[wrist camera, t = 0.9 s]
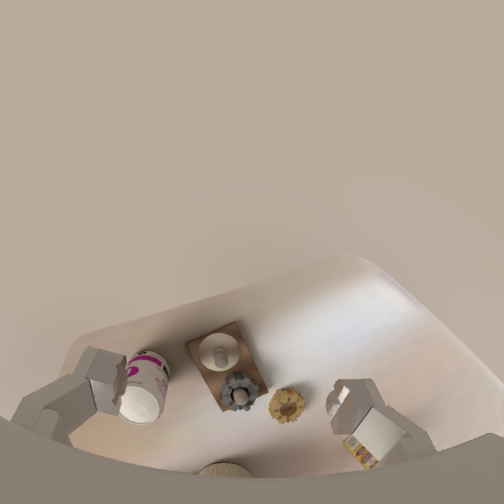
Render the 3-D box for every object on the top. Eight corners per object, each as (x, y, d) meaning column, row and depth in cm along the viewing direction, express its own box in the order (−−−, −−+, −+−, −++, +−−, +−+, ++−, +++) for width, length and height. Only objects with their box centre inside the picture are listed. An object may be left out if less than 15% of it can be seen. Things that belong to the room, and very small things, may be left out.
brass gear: (305, 407, 58) (310, 413, 55) (275, 421, 57) (278, 428, 54) (294, 381, 58) (299, 387, 55) (262, 397, 57) (265, 404, 54)
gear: (262, 394, 55) (267, 405, 50) (228, 409, 54) (231, 421, 49) (247, 365, 54) (252, 374, 50) (212, 380, 53) (213, 391, 49)
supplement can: (120, 364, 52) (99, 399, 37) (150, 341, 53) (136, 372, 38) (149, 394, 53) (137, 435, 38) (179, 372, 54) (174, 411, 39)
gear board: (267, 389, 57) (274, 403, 50) (222, 408, 55) (225, 425, 49) (234, 321, 55) (239, 330, 49) (186, 342, 54) (184, 354, 47)
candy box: (342, 443, 60) (371, 478, 45) (353, 430, 61) (385, 463, 46) (362, 452, 62) (391, 485, 47) (372, 441, 62) (403, 471, 47)
